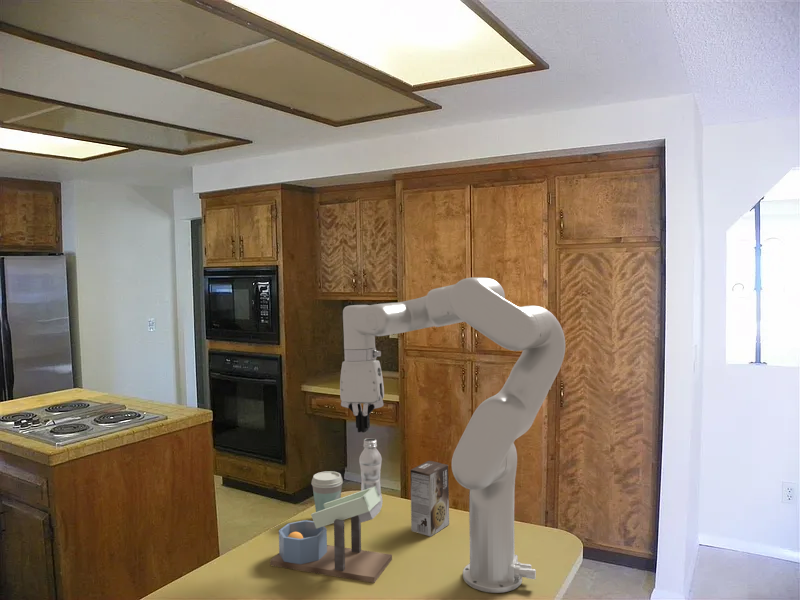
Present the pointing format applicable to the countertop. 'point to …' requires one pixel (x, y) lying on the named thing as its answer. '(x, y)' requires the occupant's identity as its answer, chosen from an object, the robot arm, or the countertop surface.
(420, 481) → the coffee box
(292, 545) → the blue cup
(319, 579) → the countertop surface
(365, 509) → the tipping tray
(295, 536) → the orange ball
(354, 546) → the stand
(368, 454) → the plastic bottle
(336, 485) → the coffee cup
